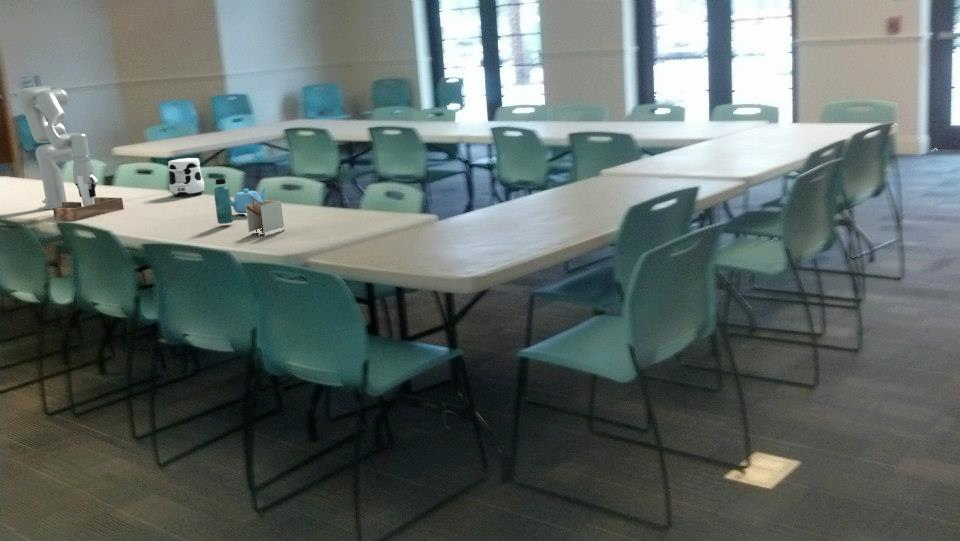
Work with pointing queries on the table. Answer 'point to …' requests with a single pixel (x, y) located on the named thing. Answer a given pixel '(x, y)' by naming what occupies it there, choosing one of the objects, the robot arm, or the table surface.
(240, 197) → the teapot
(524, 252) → the table surface
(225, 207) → the beverage bottle
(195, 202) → the table surface
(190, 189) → the milk container
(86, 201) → the white cup
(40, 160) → the robot arm
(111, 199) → the angular wooden frame
